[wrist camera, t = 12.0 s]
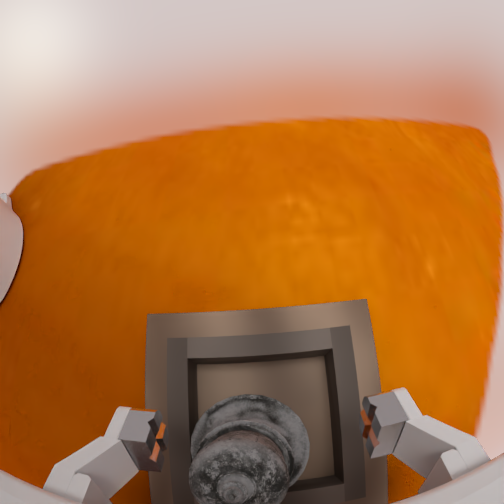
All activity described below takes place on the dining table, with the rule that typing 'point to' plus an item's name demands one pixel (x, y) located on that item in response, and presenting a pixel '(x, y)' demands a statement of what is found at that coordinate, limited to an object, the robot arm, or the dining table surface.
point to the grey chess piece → (247, 451)
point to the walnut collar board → (270, 390)
